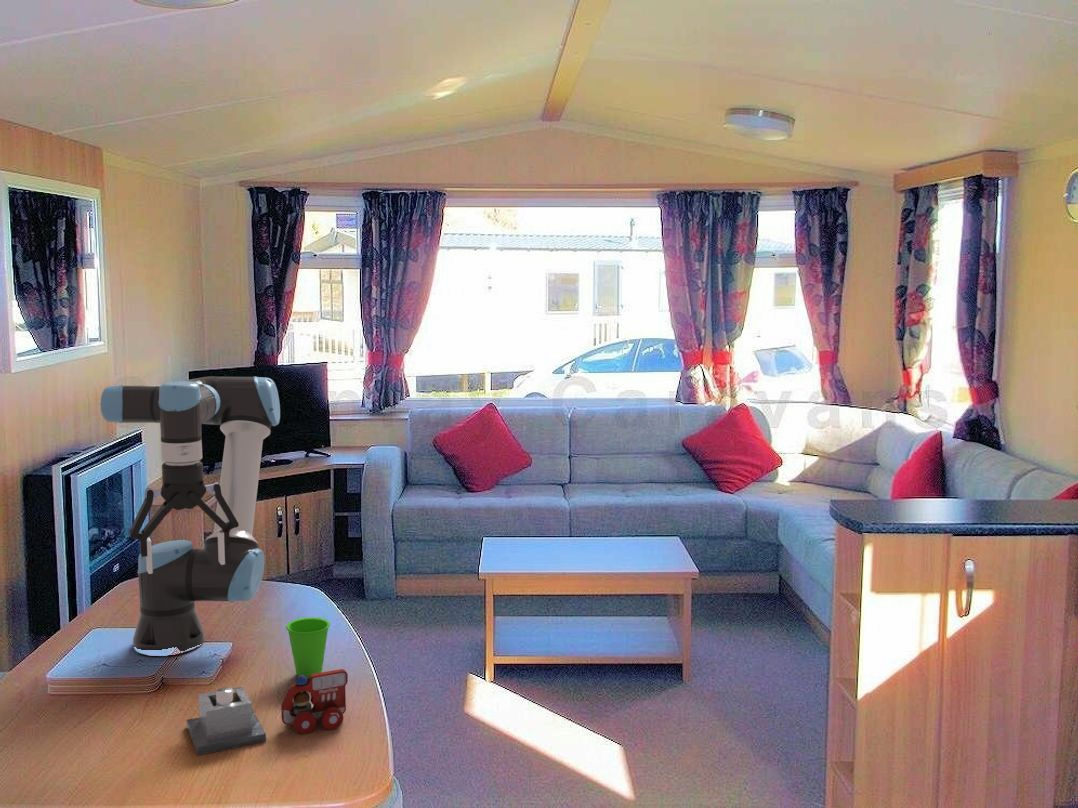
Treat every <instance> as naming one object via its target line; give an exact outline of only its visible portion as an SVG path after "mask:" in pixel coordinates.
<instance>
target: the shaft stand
mask: <svg viewBox="0 0 1078 808" xmlns="http://www.w3.org/2000/svg"><path fill="white" fill-rule="evenodd" d="M232 688H233V687H228V686H226V687H220V688H218V689H217V690H215V691H216V706H219V705H225V704H230V703H235V702H236V691H233V689H232ZM186 728H187V732H188V734H189V736H190V739H191V740H192V741H191V742H192V744H193V746H194V749H195V752H196V754H197V756H202V755H207V754H210V753H217V752H221V751H225V750H230V749H235V748H241V747H245V746H249V745H250V746H251V745H255V744H258V743H259V742H260V743H264V741H265V742H266V741H267V732H266V731H265V728H264V727H263V726H262V723H260V720H259V719H258V716H257V715H256V713H255V711H254V709H253V708H252V732H247V733H242V734H237V735H232V736H227V737H222V738H217V739H212V740H207V739H206V736H205V734H204V731H203V729H202V727H201V724H200V720H199V717H195V718H189V719H186ZM260 743H259V744H260Z"/></svg>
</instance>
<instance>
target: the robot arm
mask: <svg viewBox="0 0 1078 808" xmlns="http://www.w3.org/2000/svg"><path fill="white" fill-rule="evenodd" d="M100 412H101V413H100V414H101V416H102V418H103V419H104V420H105V421H106V422H109V423H118V424H131V423H132V424H135V423H136V424H139V423H140V424H141V423H142V424H143V423H144V424H145V423H150V424H152V423H154V424H159V426H160V428H159V429H160V452H161V454H160V456H161V457H160V458H161V461H162V462H163V463H162V465H161V473H162V474H161V477H162V479H161V480H162V486H161V488H160V489H156V488H153V489H152V488H151V487H146V489H145V492H144V500H143V502H142V504H141V506H140V508H139V510H138V512H137V515H135V516H136V517H135V518H134V521H133V523H132V525H131V527H130V529H129V530H128V531H129V532H128V535H129V537H130V538H131V540H132V539H133V540H138V541H139V555H138V559H137V561H138V564H137V565H138V568H137V571H136V572H137V576H138V594H139V612H140V613H139V617H138V620H137V624H136V628H135V631H134V635H133V638H132V645H134V647H136V648H137V649H141V650H162V649H168V648H172V647H174V648H175V647H177V648H178V649H179V650H180V651H185V650H187V649H189V648H192V647H195V646H197V645H200V644H202V643H203V644H204V643H205V631H204V628H203V626H202V623H201V620H200V618H199V615H198V613H197V610H196V605H195V604H196V603H195V602H229V603H234V602H247V601H250V600H252V599H253V598H254V597H255V596H256V595H257V593H258V592H259V589H260V587H261V584H262V581H263V577H264V572H265V561H266V560H265V554H264V552H263V550H262V549H260V548H259V542H258V541H257V540H256V539H255V537H254V536H253V532H254V523H255V514H256V505H257V496H258V487H259V479H260V470H261V469H260V467H261V459H262V451H263V444H264V440H265V439H266V438H267V437H269V436H271V432H272V431H271V429H272V426H273V427H276V426H278V425H279V424H280V421H281V405H280V397H279V391H278V388H277V385H276V383H275V381H274V380H273V379H271V378H269V377H263V376H262V377H259V376H255V375H254V376H203V377H202V376H201V377H198V378H192V379H191V378H190V379H185V380H177V381H171V382H165V383H162V384H156V385H155V384H153V385H150V384H149V385H148V384H147V385H144V384H142V385H123V384H119V385H109V386H106V387H105V388H104V389H103V391H102V392H101V396H100ZM202 425H217V426H220V427H219V430H220V431H221V432H222V433H223V435H224V436H225V439H224V447H223V455H222V462H221V471H220V479H219V483H218V482H217V481H213V482H212V483H209V484H205V483H204V465H203V462H202V461H201V460H202V459H203V444H202V439H203V437H202ZM207 492H209V494H210V495H211V496H214V498H215V500H216V501H217V502H216V511H215V510H213V509H212V508H211V507H210V506H209V505H208V504H207V503H206V502H205V501H204V500H203V497H204V495H206V493H207ZM160 496H161V498H162V499H163V500H164V502H162V504H161V505H160V507H159V509H158V510H157V511H156V512H155V513H154V515H153V516H152V517H151V519H150V520H149V521H148V522H147V523H146V525H145V526H144V527H143V524H144V523H145V521H146V518H147V517H148V514H149V512H150V510H151V508H152V505H153V502H154V501H155V502H156V501H157V499H158V497H160ZM195 507H198V508H199V509H201V510H202V511H203V513H205V514H206V515H207V516H208V517H209V518H210V519H211V520H212V521H214V527H213V533H212V534H210V535H209V536H207V538H205V542H204V548H194V544H193V542H192V541H190V540H186V539H177V540H170V541H165V542H160V543H157V544H154V545H152V540H151V538H150V536H151V535H152V534H153V532H154V531H155V530H156V528H158V526H159V525H160V524H161V522H163V520H164V519H165V518H166V516H167V515H168V514H169V513H170V512H171V511H172V510H176V511H180V510H181V511H182V510H184V509H187V510H192V509H194V508H195ZM142 527H143V528H142ZM141 528H142V530H141ZM203 644H202V645H203Z"/></svg>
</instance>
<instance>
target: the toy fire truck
mask: <svg viewBox="0 0 1078 808" xmlns="http://www.w3.org/2000/svg"><path fill="white" fill-rule="evenodd" d="M348 678H349V677H348V672H347V671H346V670H345V669H344V668H340V669H334V670H333V669H332V670H328V671H327V670H326V671H322V672H321V673H315V674H311V675H310V676H309V678H308V679H307V678H306V677H305V676H304V675H299V676H296V678H295V683H293V684H291V685H290V686H289V687H288V690H287V692H286V694H285V697H284V698H283V700H282V702H281V704H280V705H281V706H280V709H281V710H280V711H281V715H280V716H281V722H282V723H283V724H284V725H286V726H288V725H293V728H294V730H295V731H296V732H297V733H298V734H301V735H306V734H310V733H311V732H312V731H313V730H314V729H315V727H316V726H317V721H316V720H320V722H321V724H322V726H323V727H324V728H325V729H326V730H331V731H333V730H335V729H338V728H339V727H340V726H341V725H342V724H343V723H344V722H343V721H344V714H345V713H346V710H347V702H346V701H347V700H346V699H347V698H346V692H347V691H346V685H347V684H348V681H349V680H348ZM311 703H312V704H311ZM312 705H313V706H312Z"/></svg>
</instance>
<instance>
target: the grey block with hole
mask: <svg viewBox="0 0 1078 808" xmlns="http://www.w3.org/2000/svg"><path fill="white" fill-rule="evenodd" d="M231 688H232V689H233V691H236V702H235V703H230V704H225V705H219V706H216V691H217V690H214V691H209V692H204V693H198V712H199V717H198V718H199V720H200V724H201V727H202V729H203V731H204V734H205V736H206V739H207V740H212V739H217V738H222V737H227V736H232V735H237V734H242V733H247V732H252V709H253V707H252V706H253V705H252V704H253V703H252V701H251V699H250V697H249V696H248V693H247V692H246V691H245V689H244V687H243V686H237V687H231Z"/></svg>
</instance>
